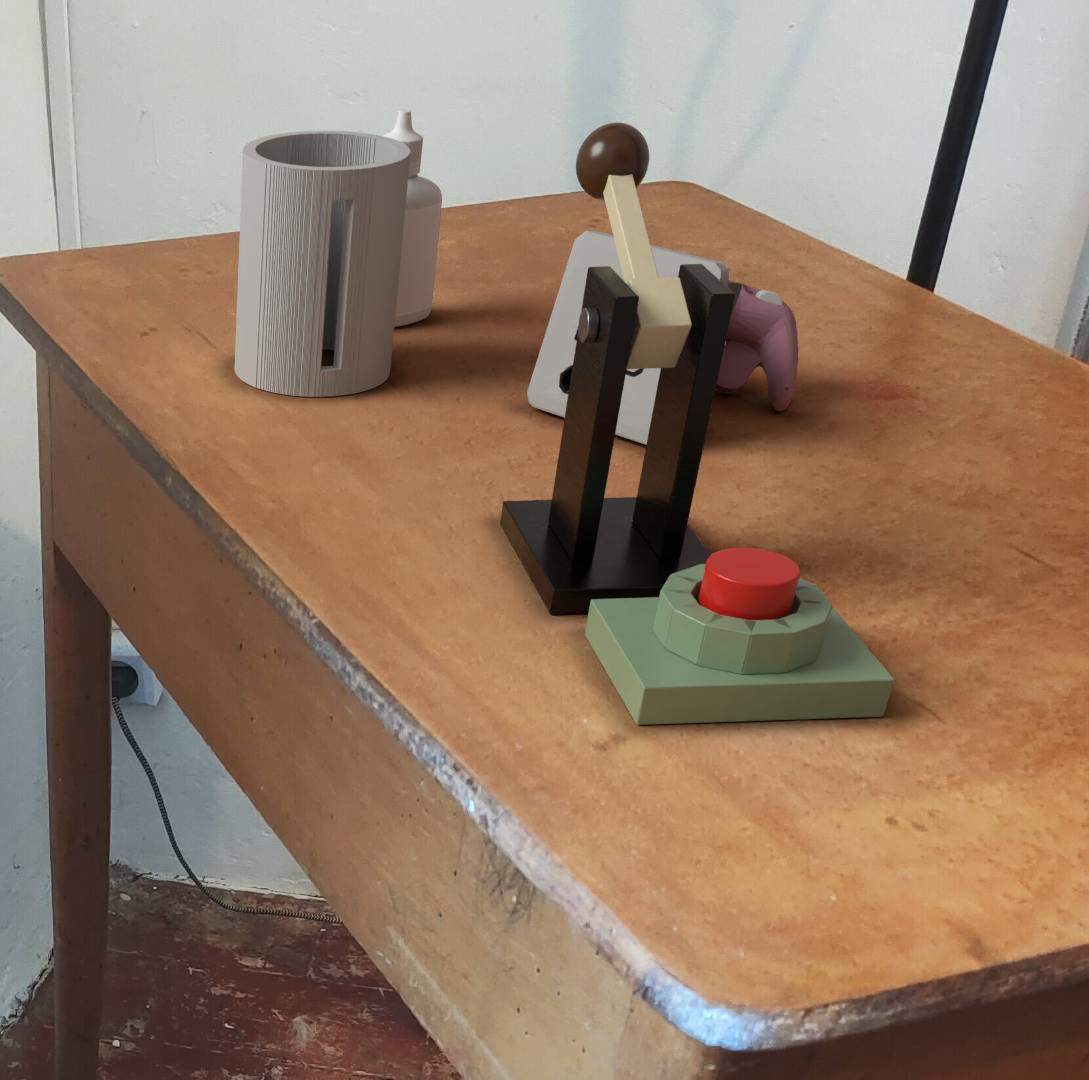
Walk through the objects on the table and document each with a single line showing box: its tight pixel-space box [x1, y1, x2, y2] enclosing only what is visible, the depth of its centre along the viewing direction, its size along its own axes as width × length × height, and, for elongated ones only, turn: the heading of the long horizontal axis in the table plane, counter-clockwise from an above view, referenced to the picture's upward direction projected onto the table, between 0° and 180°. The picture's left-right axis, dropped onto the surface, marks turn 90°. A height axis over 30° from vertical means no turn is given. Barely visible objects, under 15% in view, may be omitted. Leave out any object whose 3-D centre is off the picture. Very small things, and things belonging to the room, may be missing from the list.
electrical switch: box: [526, 230, 743, 446], centre depth 94 cm, size 9×5×9 cm, turn 39°
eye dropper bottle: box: [382, 109, 443, 328], centre depth 107 cm, size 4×6×12 cm
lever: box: [575, 122, 692, 369], centre depth 77 cm, size 13×3×3 cm, turn 2°
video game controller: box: [715, 281, 799, 412], centre depth 98 cm, size 10×5×7 cm, turn 79°
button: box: [699, 547, 801, 620], centre depth 70 cm, size 4×4×2 cm
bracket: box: [499, 264, 735, 615], centre depth 78 cm, size 10×8×13 cm
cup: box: [234, 130, 411, 398], centre depth 99 cm, size 9×9×12 cm
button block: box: [584, 564, 895, 726], centre depth 72 cm, size 10×8×4 cm
